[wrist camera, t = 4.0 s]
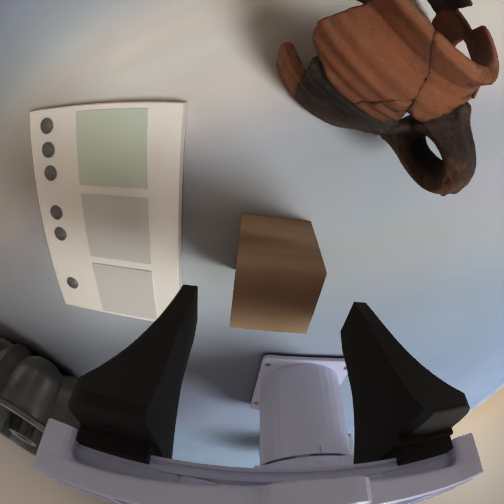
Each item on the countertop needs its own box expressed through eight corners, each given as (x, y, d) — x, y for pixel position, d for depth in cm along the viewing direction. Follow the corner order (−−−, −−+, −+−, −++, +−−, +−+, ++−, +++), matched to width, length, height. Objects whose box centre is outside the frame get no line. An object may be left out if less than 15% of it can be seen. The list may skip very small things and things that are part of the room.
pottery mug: (228, 28, 12) (282, -91, 4) (354, 3, 13) (430, -60, 5) (346, 229, 14) (488, 242, 7) (443, 159, 16) (547, 146, 8)
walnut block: (297, 275, 19) (306, 333, 15) (235, 269, 19) (229, 327, 15) (310, 221, 17) (326, 273, 13) (242, 212, 17) (236, 263, 13)
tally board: (183, 317, 22) (180, 326, 21) (69, 297, 21) (65, 304, 20) (187, 102, 14) (183, 103, 13) (37, 109, 13) (28, 112, 12)
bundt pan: (-31, 275, 21) (-79, 336, 13) (159, 399, 29) (143, 478, 21) (-17, 364, 33) (-38, 405, 24) (104, 438, 41) (93, 484, 33)
